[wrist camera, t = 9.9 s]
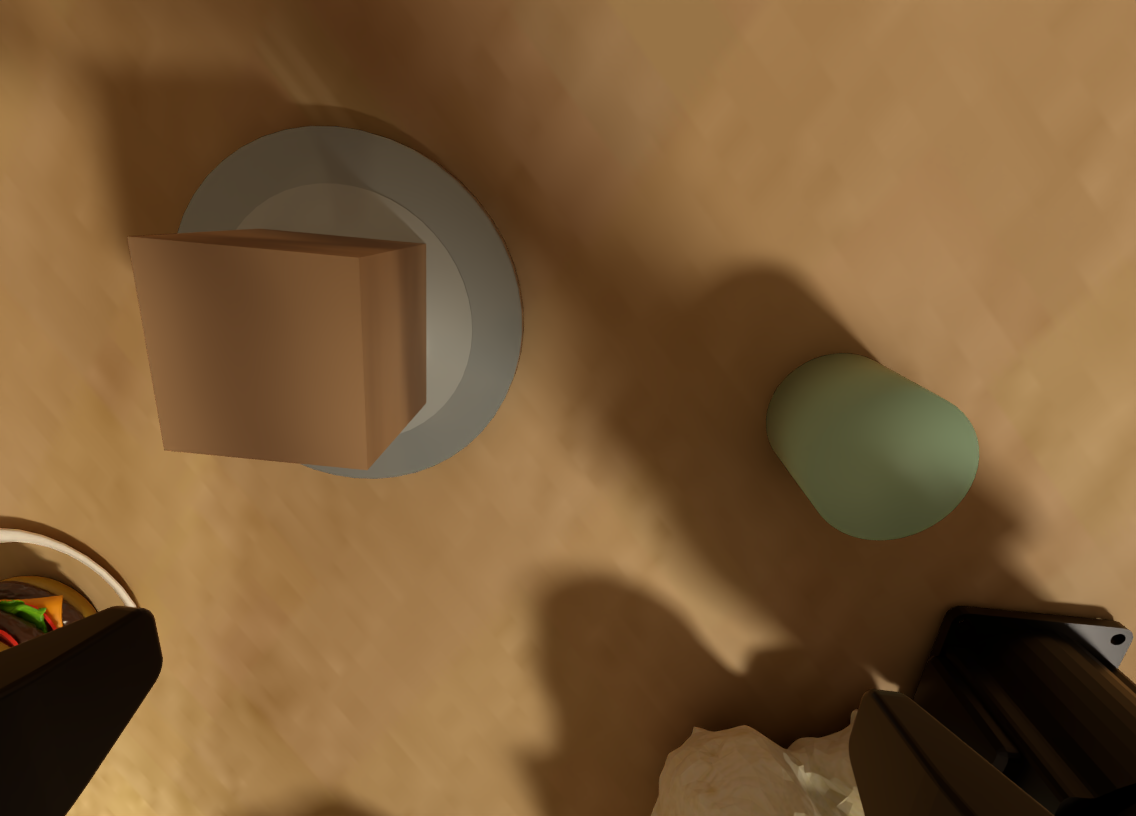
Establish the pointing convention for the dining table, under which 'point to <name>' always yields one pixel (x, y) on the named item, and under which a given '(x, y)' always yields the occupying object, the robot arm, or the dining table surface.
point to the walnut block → (283, 342)
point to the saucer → (398, 213)
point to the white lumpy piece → (758, 776)
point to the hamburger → (43, 595)
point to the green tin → (871, 446)
